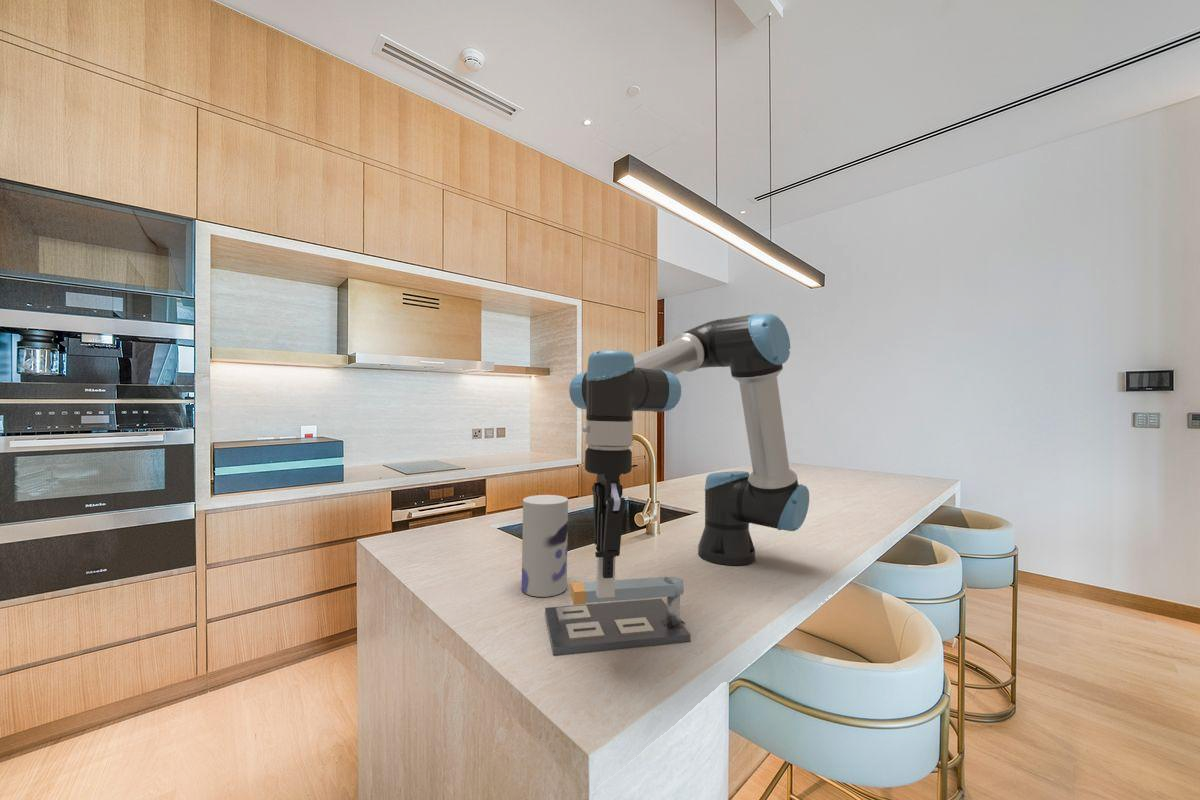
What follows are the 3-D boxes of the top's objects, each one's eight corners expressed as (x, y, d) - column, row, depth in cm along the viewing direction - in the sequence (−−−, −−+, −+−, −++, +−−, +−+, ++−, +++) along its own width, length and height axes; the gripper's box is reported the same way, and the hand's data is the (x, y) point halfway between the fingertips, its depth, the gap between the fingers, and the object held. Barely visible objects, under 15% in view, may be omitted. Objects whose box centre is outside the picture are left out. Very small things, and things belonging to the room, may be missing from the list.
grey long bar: (678, 586, 86) (678, 575, 86) (687, 596, 82) (687, 583, 82) (570, 594, 82) (570, 582, 82) (574, 604, 78) (574, 591, 78)
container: (559, 599, 96) (560, 504, 96) (514, 595, 98) (516, 501, 98) (571, 581, 106) (573, 495, 106) (530, 577, 108) (532, 493, 108)
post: (679, 622, 86) (680, 588, 86) (688, 634, 82) (689, 597, 82) (657, 625, 85) (658, 589, 85) (665, 636, 81) (666, 599, 81)
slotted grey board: (661, 604, 94) (661, 596, 94) (690, 641, 80) (690, 632, 80) (544, 613, 89) (545, 605, 89) (553, 655, 75) (553, 645, 75)
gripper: (578, 444, 79) (575, 581, 78) (593, 451, 66) (589, 615, 66) (620, 444, 80) (617, 579, 80) (643, 451, 68) (639, 611, 67)
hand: (605, 595), depth 73 cm, fingers closed
